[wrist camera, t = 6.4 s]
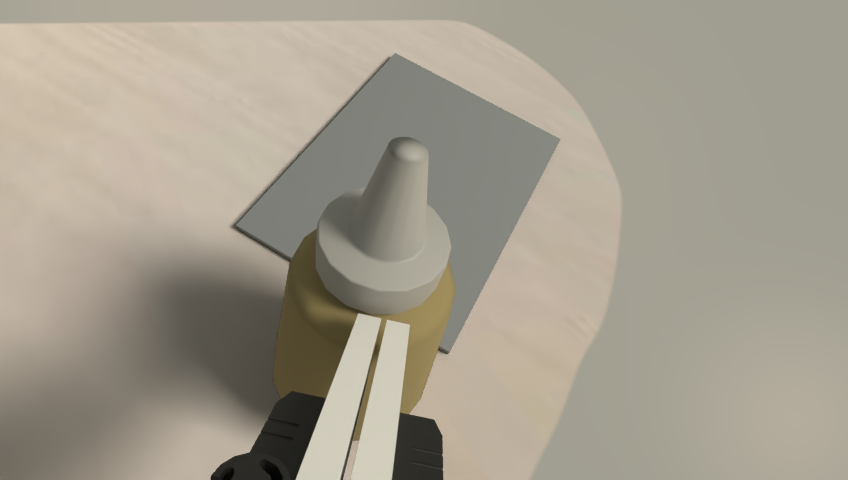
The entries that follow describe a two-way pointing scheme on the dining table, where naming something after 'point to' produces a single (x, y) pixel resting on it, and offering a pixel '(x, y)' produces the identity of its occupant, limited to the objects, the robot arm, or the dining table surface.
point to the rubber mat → (447, 171)
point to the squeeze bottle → (368, 280)
